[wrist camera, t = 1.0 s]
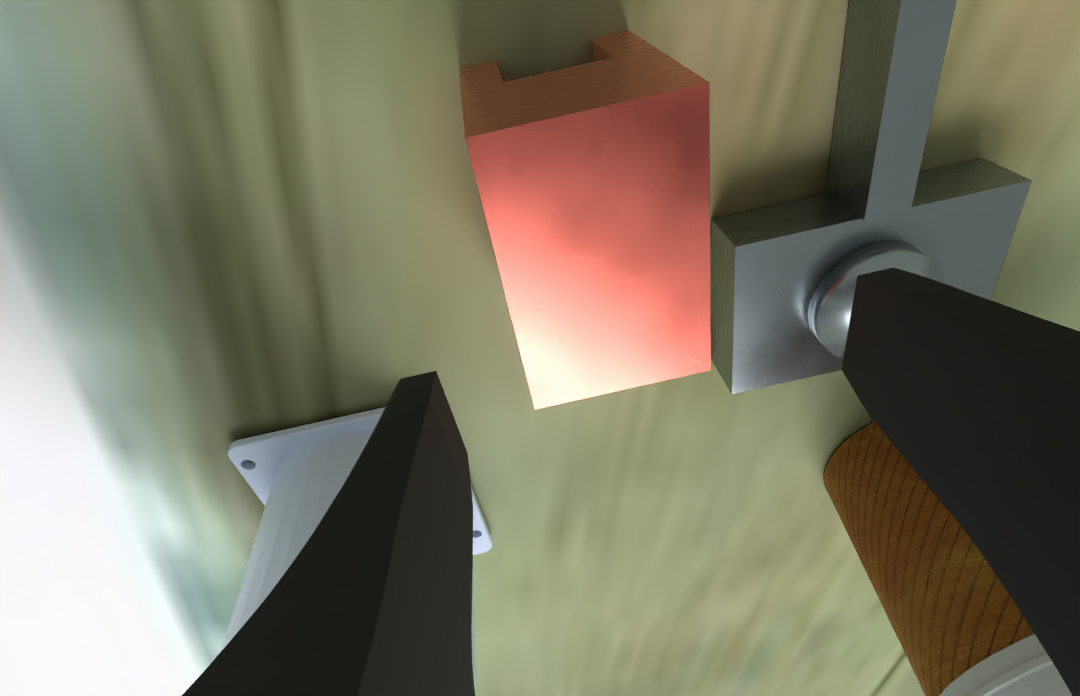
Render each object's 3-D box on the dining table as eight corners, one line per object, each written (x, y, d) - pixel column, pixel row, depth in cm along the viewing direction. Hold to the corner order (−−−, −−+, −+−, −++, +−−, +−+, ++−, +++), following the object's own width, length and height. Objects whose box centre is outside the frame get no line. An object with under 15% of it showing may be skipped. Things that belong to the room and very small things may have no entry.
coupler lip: (939, 309, 23) (994, 352, 21) (711, 360, 23) (740, 409, 21) (1088, -219, 14) (1214, -245, 11) (710, -132, 14) (761, -141, 12)
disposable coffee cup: (994, 347, 24) (1349, 627, 15) (987, 478, 30) (1242, 745, 20) (772, 434, 26) (965, 741, 16) (805, 544, 31) (962, 822, 22)
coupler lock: (646, 259, 20) (710, 369, 15) (513, 289, 20) (534, 409, 15) (628, 30, 16) (709, 82, 11) (459, 68, 16) (465, 138, 11)
